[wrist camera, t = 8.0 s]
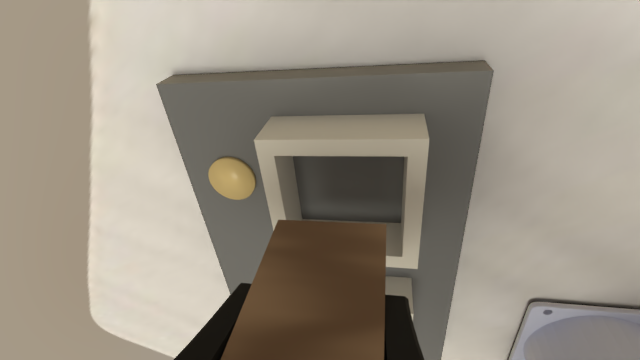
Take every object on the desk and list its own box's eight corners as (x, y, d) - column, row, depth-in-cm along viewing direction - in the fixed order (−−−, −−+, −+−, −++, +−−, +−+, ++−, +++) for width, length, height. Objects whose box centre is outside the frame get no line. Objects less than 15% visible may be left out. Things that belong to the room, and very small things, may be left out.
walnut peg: (386, 224, 12) (380, 552, 6) (385, 296, 14) (380, 590, 8) (278, 219, 13) (161, 502, 6) (293, 288, 15) (218, 550, 9)
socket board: (484, 60, 15) (512, 91, 11) (438, 343, 26) (444, 399, 23) (172, 75, 18) (122, 103, 14) (252, 323, 29) (235, 370, 26)
